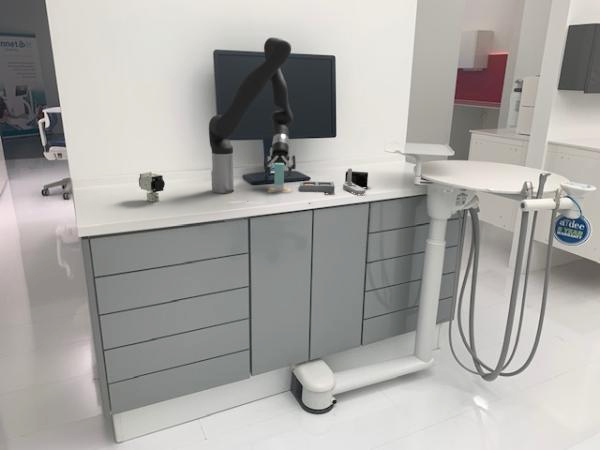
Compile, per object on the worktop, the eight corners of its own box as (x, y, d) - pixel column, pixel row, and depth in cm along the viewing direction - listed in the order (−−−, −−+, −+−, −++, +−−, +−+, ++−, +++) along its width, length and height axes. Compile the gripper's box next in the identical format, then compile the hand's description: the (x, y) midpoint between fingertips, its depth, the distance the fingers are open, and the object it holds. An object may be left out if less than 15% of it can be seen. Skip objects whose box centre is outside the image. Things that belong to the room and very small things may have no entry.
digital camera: (344, 187, 228) (345, 172, 226) (345, 184, 233) (346, 170, 231) (366, 188, 226) (367, 174, 224) (367, 186, 231) (368, 172, 229)
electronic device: (358, 175, 209) (342, 168, 222) (356, 196, 212) (340, 188, 225) (369, 174, 211) (352, 167, 224) (367, 195, 215) (350, 187, 227)
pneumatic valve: (149, 197, 201) (147, 169, 198) (166, 202, 194) (164, 173, 191) (138, 199, 197) (135, 171, 194) (154, 204, 190) (152, 175, 187)
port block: (299, 193, 214) (299, 184, 213) (299, 188, 223) (300, 180, 222) (334, 193, 214) (334, 185, 213) (333, 189, 223) (333, 181, 222)
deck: (267, 194, 211) (267, 192, 211) (268, 190, 219) (268, 188, 218) (289, 194, 211) (289, 192, 211) (290, 190, 218) (290, 188, 218)
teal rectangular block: (274, 191, 212) (274, 164, 209) (274, 189, 216) (275, 162, 213) (283, 191, 212) (283, 164, 209) (283, 189, 216) (284, 163, 213)
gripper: (264, 140, 216) (262, 170, 208) (296, 141, 216) (295, 171, 208) (265, 150, 223) (263, 180, 215) (296, 151, 223) (295, 180, 215)
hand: (279, 175), depth 212 cm, fingers open, 8 cm apart
